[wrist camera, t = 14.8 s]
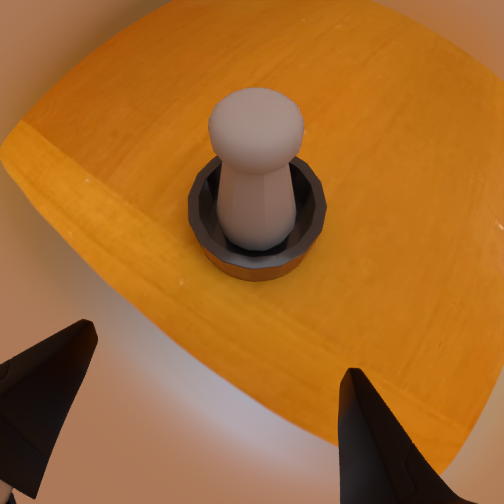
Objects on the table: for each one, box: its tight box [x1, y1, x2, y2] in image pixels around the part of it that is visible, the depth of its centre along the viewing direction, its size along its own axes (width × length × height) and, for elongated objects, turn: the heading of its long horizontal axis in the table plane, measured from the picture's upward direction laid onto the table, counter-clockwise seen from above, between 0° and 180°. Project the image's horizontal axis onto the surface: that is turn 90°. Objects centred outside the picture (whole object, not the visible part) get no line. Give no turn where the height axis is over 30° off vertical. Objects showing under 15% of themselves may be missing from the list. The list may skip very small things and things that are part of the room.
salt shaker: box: [208, 88, 304, 251], centre depth 17 cm, size 6×6×13 cm
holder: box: [188, 156, 327, 282], centre depth 22 cm, size 10×10×4 cm
